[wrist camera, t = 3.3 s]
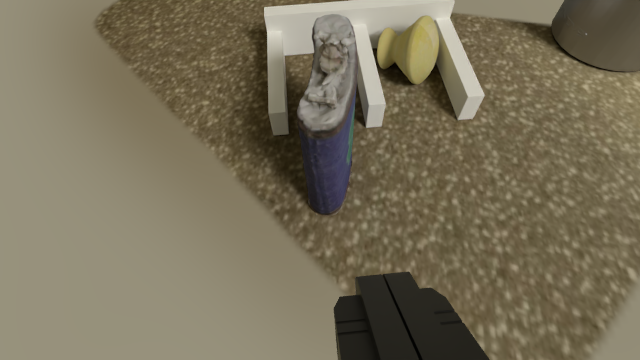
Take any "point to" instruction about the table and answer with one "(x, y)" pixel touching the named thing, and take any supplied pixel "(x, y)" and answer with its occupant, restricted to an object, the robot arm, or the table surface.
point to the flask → (329, 114)
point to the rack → (367, 51)
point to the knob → (410, 49)
